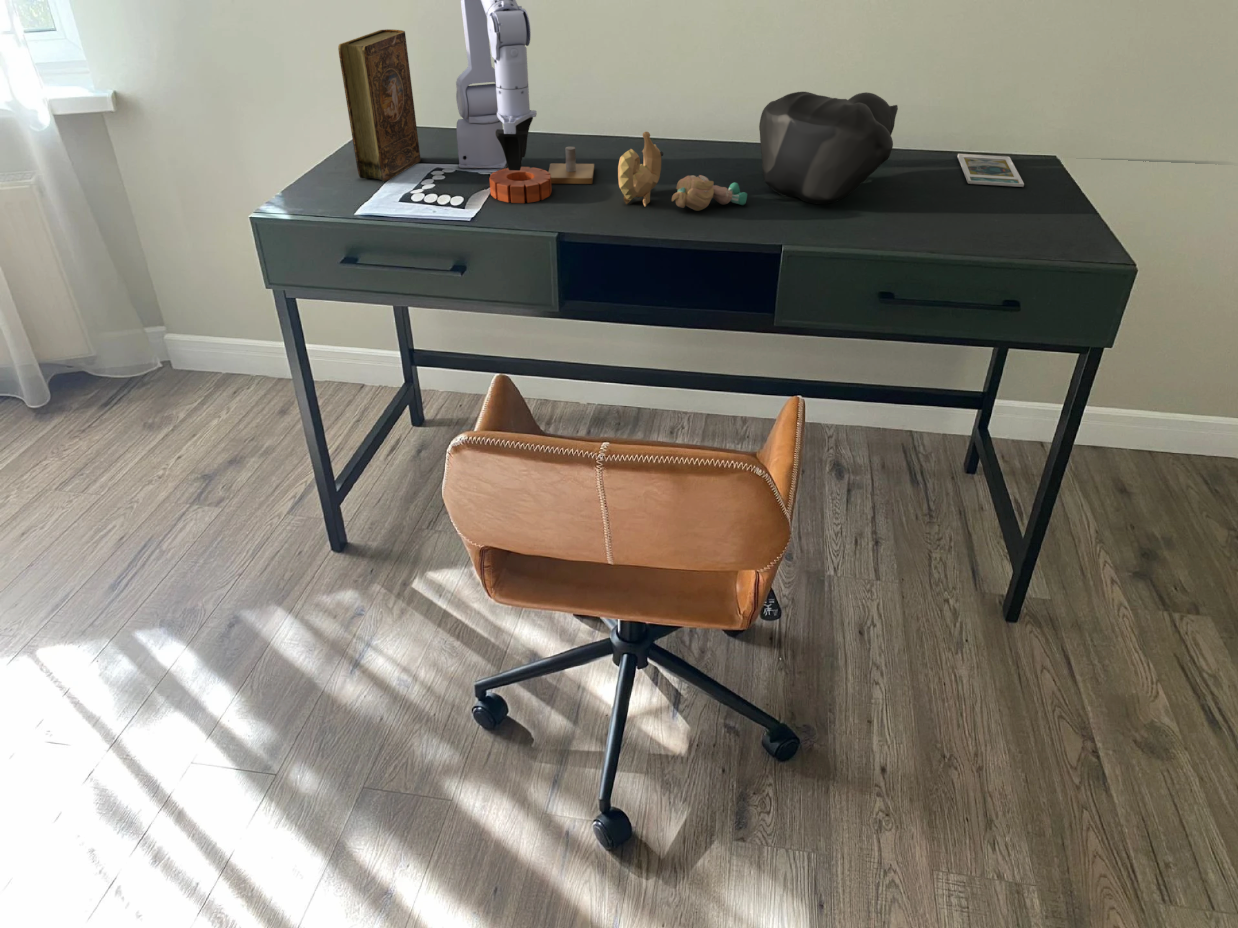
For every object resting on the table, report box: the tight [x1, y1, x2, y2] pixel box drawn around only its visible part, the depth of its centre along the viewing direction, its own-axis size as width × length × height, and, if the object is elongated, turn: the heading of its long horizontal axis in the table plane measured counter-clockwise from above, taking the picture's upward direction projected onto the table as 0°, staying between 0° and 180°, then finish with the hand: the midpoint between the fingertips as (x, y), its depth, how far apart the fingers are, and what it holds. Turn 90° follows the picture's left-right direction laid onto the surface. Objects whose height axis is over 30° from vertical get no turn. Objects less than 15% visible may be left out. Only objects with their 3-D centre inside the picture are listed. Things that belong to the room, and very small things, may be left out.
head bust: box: [758, 91, 899, 205], centre depth 174 cm, size 28×20×30 cm
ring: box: [489, 166, 553, 204], centre depth 174 cm, size 12×12×3 cm
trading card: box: [957, 153, 1025, 188], centre depth 186 cm, size 11×1×18 cm
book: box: [337, 28, 421, 182], centre depth 179 cm, size 16×6×25 cm, turn 161°
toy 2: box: [671, 174, 748, 212], centre depth 168 cm, size 8×7×15 cm
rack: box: [547, 146, 595, 185], centre depth 181 cm, size 9×9×6 cm
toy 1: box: [617, 131, 664, 207], centre depth 168 cm, size 5×12×20 cm
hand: (517, 163), depth 168 cm, fingers open, 7 cm apart
